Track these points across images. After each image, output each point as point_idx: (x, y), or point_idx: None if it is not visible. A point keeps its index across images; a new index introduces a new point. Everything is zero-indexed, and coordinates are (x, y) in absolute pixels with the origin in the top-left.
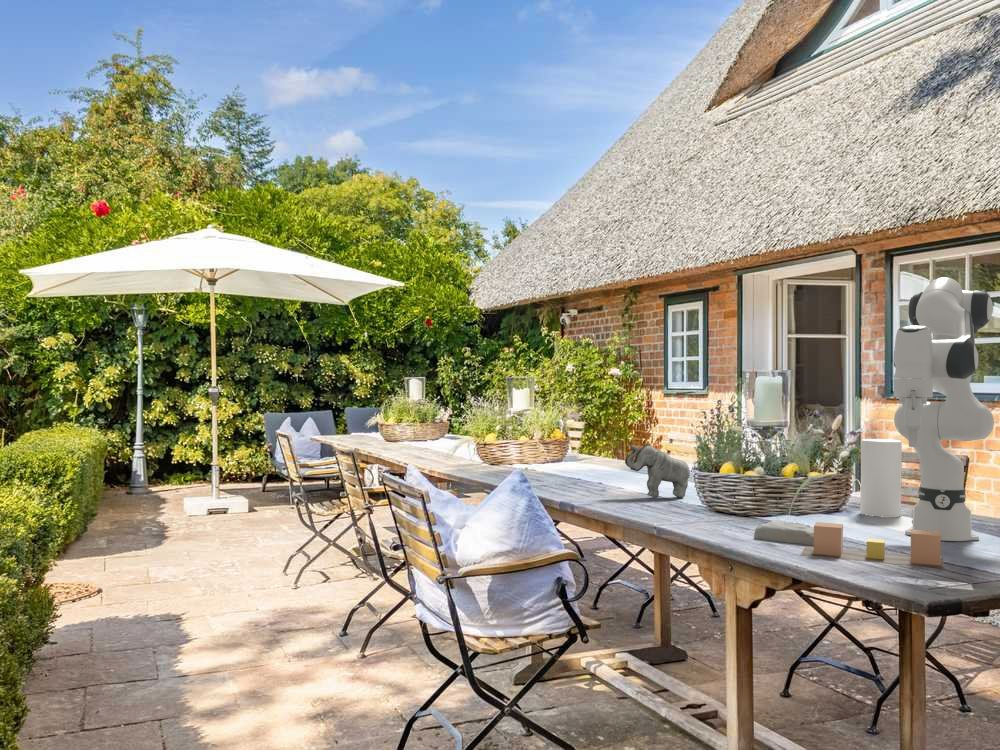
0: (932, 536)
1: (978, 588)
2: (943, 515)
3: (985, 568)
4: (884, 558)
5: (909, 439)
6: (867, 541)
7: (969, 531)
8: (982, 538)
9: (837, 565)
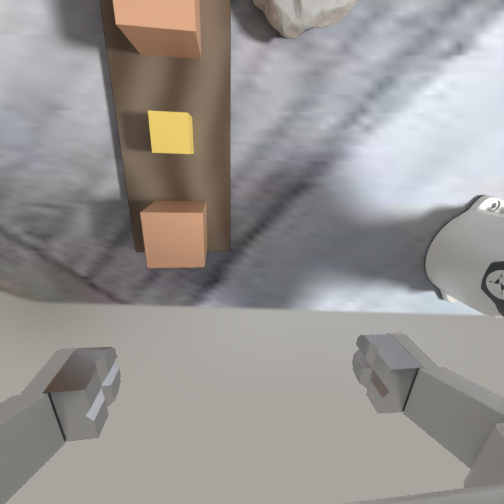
0: (146, 252)
1: (55, 288)
2: (472, 272)
3: (220, 301)
4: (170, 153)
5: (11, 403)
6: (149, 112)
7: (452, 296)
8: (465, 304)
9: (88, 49)
